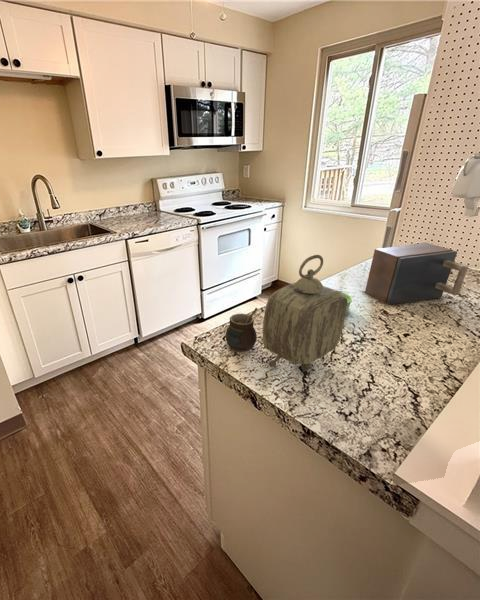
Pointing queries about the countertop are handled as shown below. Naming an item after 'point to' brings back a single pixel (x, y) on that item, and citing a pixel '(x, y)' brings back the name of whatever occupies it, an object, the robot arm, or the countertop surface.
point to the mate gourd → (241, 332)
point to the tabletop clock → (304, 319)
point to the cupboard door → (425, 277)
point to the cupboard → (393, 266)
